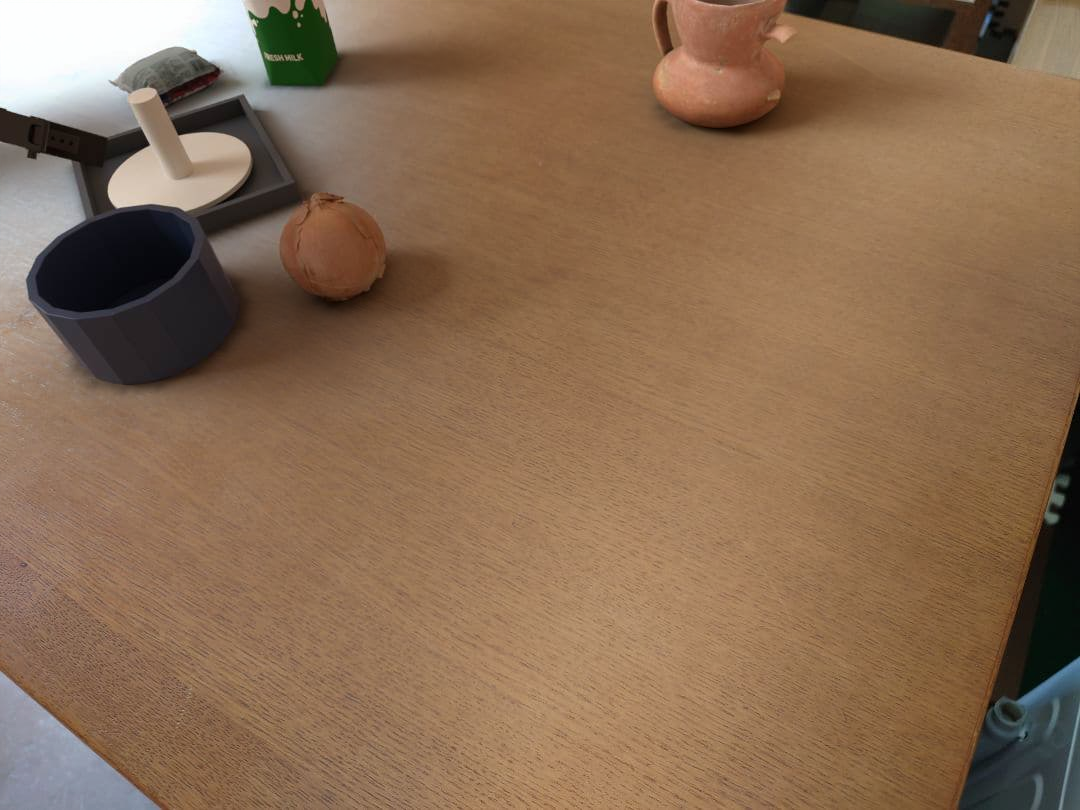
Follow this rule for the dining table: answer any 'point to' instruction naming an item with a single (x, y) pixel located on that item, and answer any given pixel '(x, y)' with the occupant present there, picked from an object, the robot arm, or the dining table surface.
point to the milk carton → (293, 40)
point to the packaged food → (169, 74)
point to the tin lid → (177, 163)
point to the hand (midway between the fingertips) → (51, 137)
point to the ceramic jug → (719, 60)
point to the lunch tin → (134, 293)
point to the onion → (332, 248)
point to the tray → (230, 117)
